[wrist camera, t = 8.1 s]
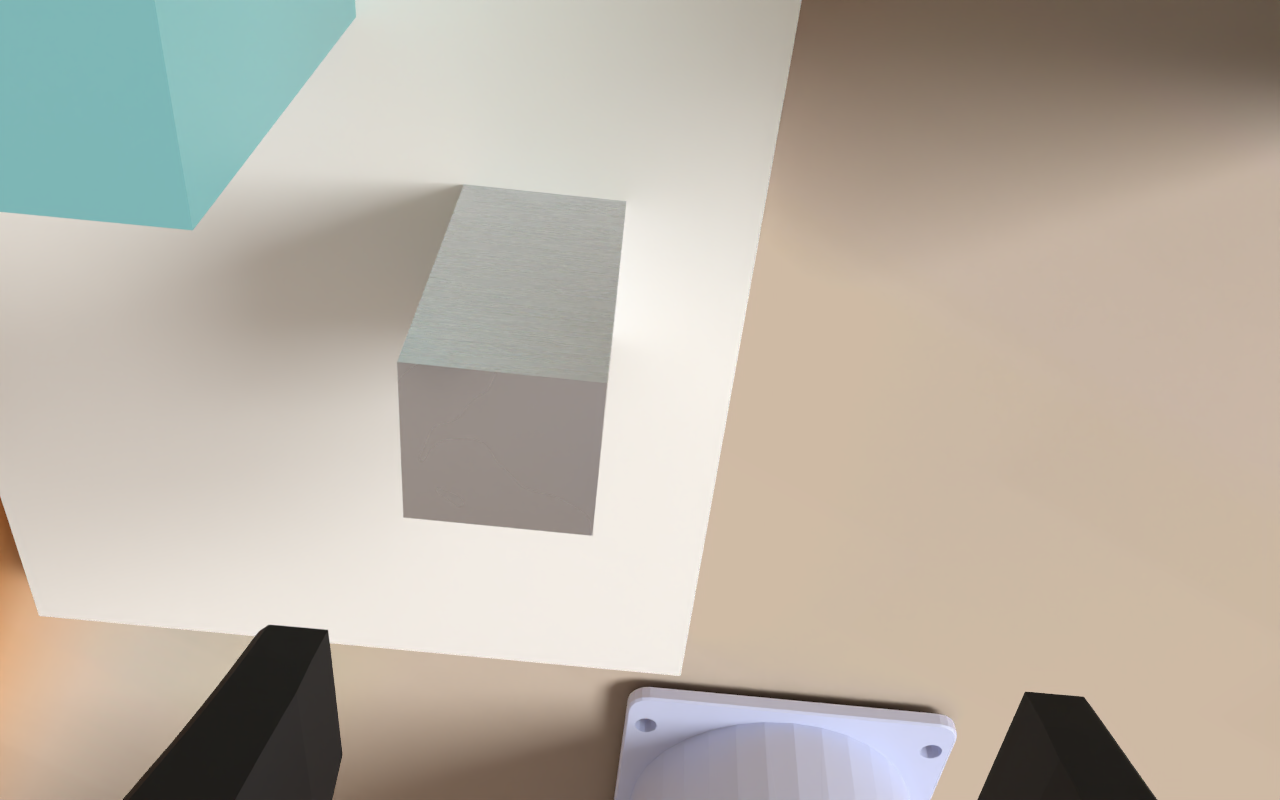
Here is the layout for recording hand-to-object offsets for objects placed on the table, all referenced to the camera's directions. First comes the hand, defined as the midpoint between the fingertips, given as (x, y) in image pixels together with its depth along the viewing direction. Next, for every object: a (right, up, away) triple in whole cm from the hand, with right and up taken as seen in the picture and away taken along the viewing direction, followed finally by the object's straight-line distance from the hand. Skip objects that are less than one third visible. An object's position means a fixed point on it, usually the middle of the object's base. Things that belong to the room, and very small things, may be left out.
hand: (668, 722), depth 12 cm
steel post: (-2, +6, +7) cm, 9 cm away
